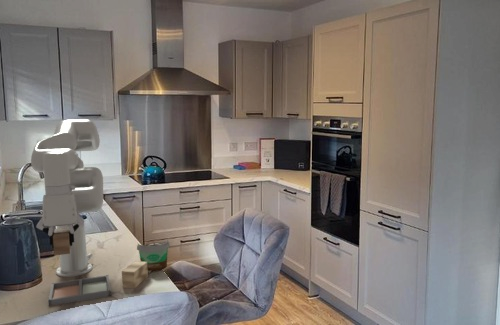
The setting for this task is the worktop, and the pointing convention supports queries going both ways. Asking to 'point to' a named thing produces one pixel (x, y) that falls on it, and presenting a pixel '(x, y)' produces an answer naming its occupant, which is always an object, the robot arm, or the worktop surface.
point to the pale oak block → (134, 274)
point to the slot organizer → (79, 290)
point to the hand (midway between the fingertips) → (62, 245)
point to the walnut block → (61, 241)
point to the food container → (154, 255)
